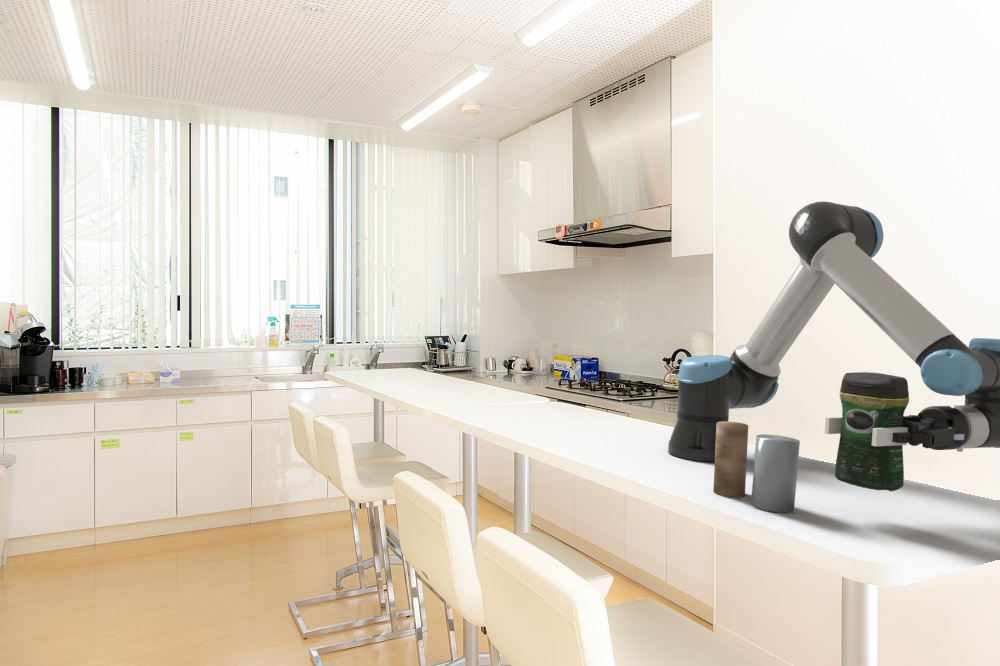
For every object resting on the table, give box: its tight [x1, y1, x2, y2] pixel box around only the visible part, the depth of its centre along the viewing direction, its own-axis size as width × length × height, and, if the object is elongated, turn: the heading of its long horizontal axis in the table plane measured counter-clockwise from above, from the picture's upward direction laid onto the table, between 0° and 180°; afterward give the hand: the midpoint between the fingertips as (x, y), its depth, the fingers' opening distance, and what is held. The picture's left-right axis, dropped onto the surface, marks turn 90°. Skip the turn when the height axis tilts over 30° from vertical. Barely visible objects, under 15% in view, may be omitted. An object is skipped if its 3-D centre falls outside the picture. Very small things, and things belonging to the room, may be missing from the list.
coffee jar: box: [834, 371, 910, 492], centre depth 107 cm, size 10×8×19 cm
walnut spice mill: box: [712, 421, 749, 499], centre depth 122 cm, size 6×6×13 cm
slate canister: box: [750, 433, 801, 514], centre depth 114 cm, size 7×7×12 cm
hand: (849, 431), depth 106 cm, fingers closed on coffee jar, 8 cm apart
